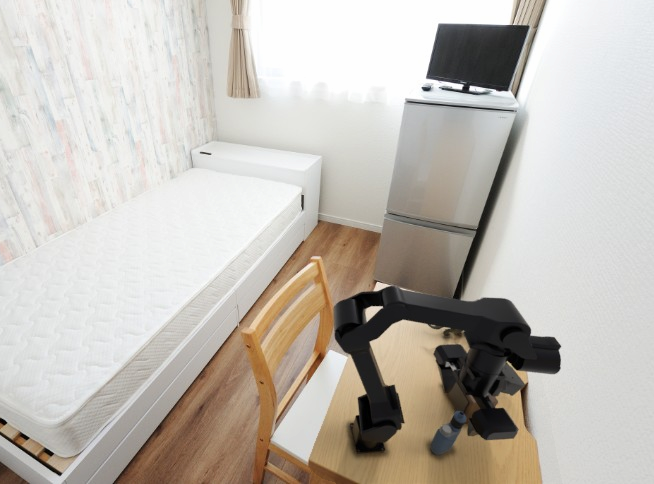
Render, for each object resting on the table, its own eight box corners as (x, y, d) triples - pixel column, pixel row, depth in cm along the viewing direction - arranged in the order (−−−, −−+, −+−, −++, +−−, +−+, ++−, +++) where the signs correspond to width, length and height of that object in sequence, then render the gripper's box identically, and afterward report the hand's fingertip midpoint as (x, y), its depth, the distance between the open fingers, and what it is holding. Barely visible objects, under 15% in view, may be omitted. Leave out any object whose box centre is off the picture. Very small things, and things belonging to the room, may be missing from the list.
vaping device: (453, 448, 77) (471, 417, 71) (435, 457, 75) (451, 425, 69) (445, 437, 79) (461, 406, 73) (427, 446, 77) (442, 414, 71)
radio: (461, 423, 82) (473, 400, 77) (441, 386, 90) (451, 363, 86) (486, 422, 82) (499, 399, 78) (464, 385, 91) (475, 362, 87)
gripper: (565, 407, 55) (526, 459, 63) (494, 322, 71) (469, 372, 79) (500, 411, 54) (468, 463, 62) (442, 324, 70) (423, 374, 78)
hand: (457, 412), depth 70 cm, fingers open, 9 cm apart
